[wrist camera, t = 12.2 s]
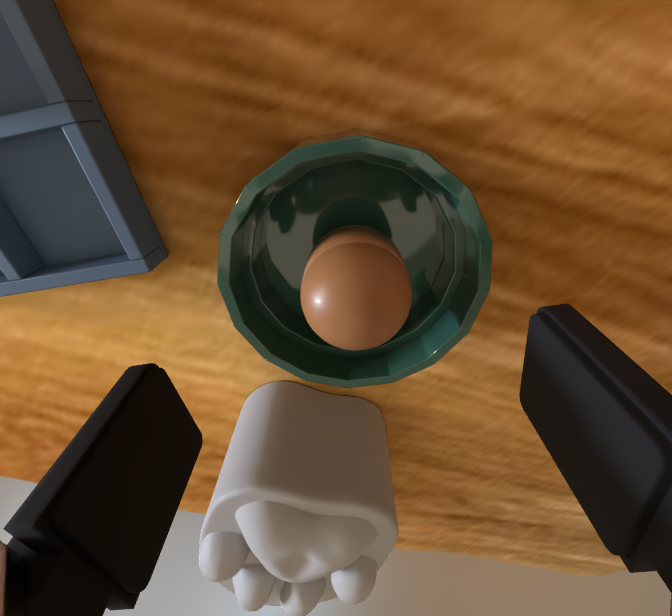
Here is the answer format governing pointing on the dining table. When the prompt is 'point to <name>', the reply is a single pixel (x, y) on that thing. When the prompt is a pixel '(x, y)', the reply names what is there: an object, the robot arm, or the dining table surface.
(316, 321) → the brown egg
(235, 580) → the lumpy-topped squat cylinder
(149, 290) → the dining table surface
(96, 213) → the egg tray
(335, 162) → the bowl
